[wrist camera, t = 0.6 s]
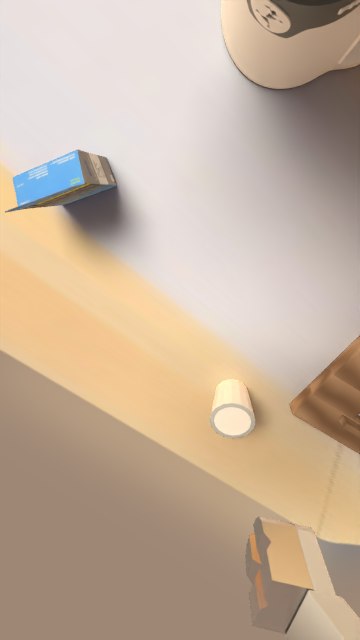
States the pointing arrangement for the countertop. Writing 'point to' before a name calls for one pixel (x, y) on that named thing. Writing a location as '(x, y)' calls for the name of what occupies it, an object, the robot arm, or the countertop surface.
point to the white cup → (232, 410)
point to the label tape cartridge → (63, 181)
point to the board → (335, 399)
